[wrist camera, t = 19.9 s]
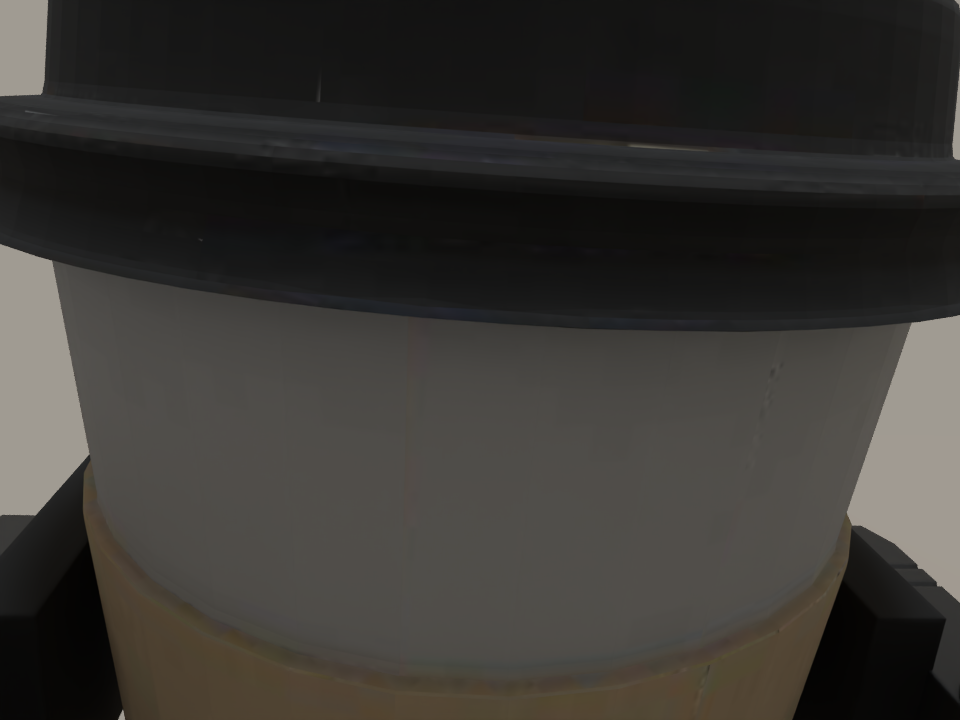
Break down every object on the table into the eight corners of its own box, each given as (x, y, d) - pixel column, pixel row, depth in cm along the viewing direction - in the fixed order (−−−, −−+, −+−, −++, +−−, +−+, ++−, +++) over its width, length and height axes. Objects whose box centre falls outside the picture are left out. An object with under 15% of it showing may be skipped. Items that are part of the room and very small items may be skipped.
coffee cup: (351, 755, 18) (369, 38, 14) (793, 960, 15) (1011, 60, 10) (-88, 1249, 10) (-376, -98, 6) (655, 2009, 6) (1457, -247, 2)
